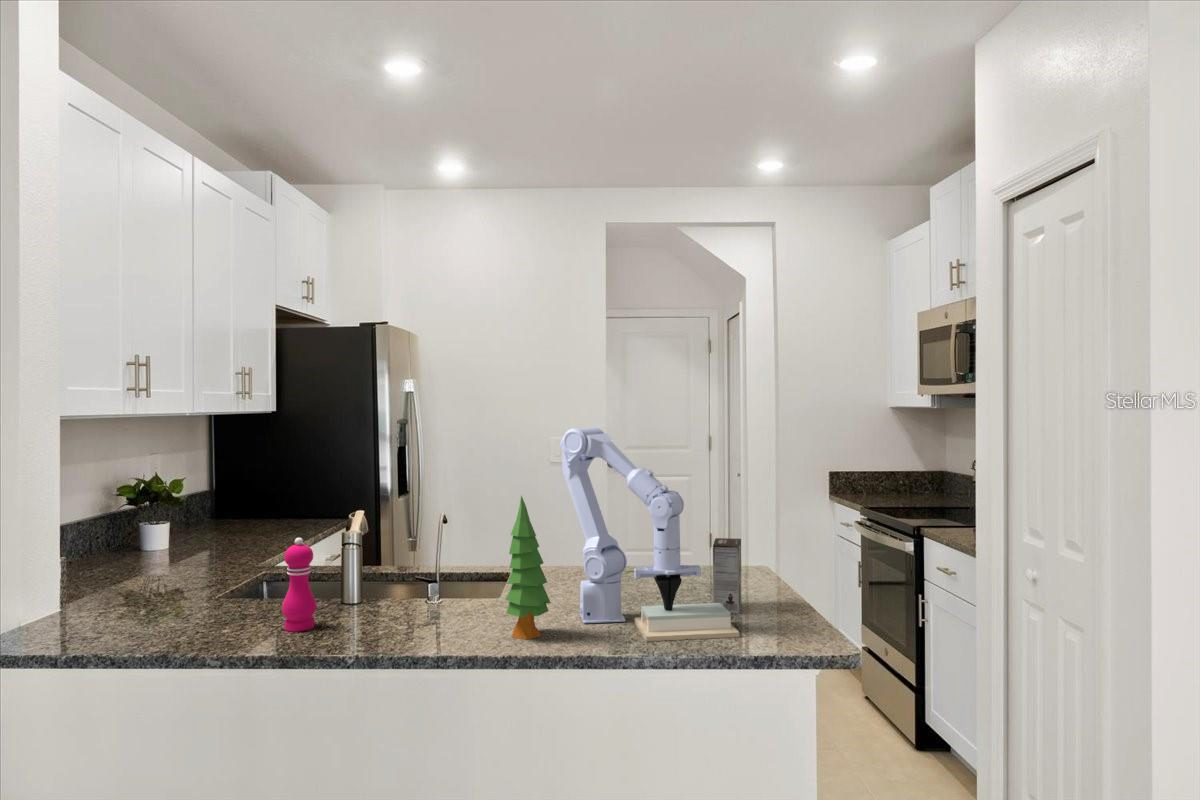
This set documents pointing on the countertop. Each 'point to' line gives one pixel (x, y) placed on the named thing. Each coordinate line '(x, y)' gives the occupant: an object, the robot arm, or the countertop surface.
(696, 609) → the panel
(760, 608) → the countertop surface
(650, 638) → the duct base
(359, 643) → the countertop surface
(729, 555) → the coffee box
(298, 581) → the pepper mill
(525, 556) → the decorative tree
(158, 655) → the countertop surface
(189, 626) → the countertop surface
